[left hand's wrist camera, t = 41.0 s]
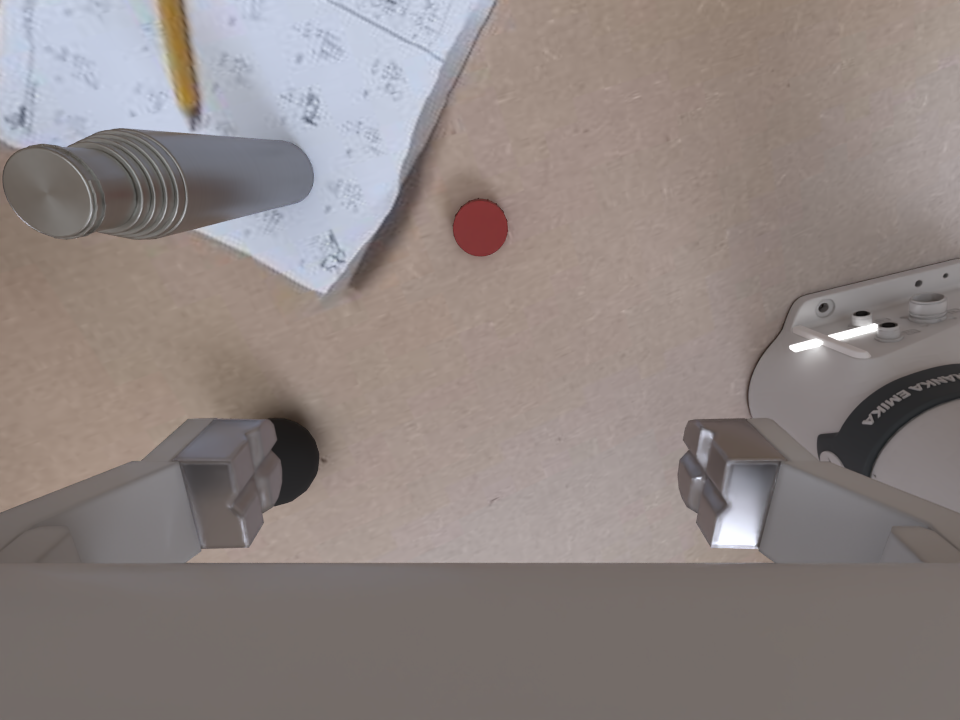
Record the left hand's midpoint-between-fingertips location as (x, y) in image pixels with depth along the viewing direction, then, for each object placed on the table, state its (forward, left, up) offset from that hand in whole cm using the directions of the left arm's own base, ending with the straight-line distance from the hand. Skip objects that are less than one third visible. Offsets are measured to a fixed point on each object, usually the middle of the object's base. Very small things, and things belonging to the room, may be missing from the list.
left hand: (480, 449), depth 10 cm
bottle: (+13, -11, -36) cm, 39 cm away
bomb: (+26, +10, -36) cm, 45 cm away
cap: (0, 0, -34) cm, 34 cm away
